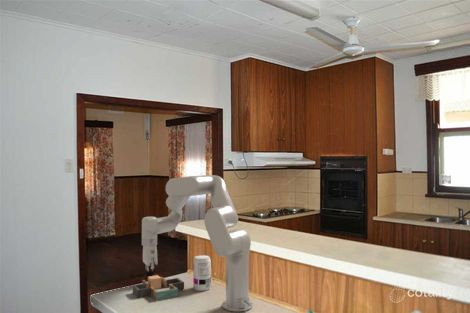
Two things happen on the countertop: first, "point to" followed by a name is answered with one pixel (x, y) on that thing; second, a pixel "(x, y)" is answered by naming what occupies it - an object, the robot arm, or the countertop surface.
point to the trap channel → (144, 291)
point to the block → (154, 281)
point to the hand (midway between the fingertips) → (149, 278)
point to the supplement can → (202, 273)
